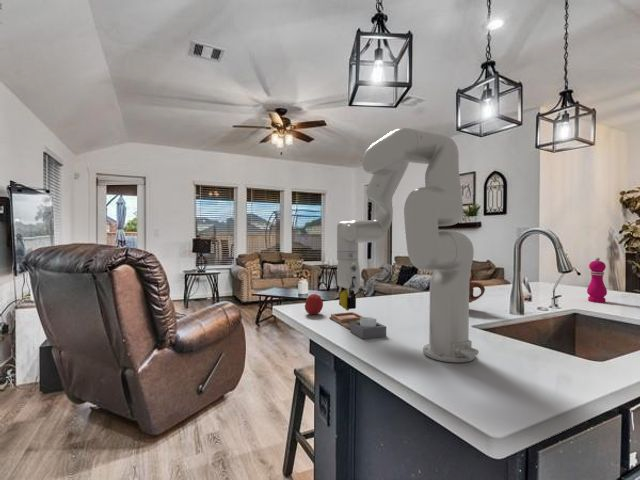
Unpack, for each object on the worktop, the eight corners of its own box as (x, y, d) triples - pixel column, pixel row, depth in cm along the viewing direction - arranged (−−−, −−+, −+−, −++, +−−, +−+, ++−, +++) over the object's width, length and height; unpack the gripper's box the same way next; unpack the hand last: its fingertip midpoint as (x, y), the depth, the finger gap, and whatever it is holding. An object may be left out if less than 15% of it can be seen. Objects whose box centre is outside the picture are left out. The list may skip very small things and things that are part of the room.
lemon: (354, 312, 127) (354, 289, 127) (338, 311, 128) (338, 289, 128) (355, 309, 132) (356, 287, 132) (340, 308, 133) (340, 286, 133)
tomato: (325, 292, 139) (306, 287, 141) (318, 307, 133) (298, 302, 135) (325, 305, 144) (307, 300, 146) (319, 321, 138) (300, 315, 141)
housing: (386, 336, 110) (386, 326, 110) (362, 339, 107) (362, 329, 107) (372, 329, 117) (372, 320, 117) (350, 332, 114) (350, 322, 114)
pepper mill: (582, 300, 167) (583, 256, 167) (594, 299, 170) (595, 256, 169) (599, 303, 160) (599, 258, 160) (610, 302, 163) (611, 257, 162)
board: (380, 328, 119) (380, 323, 119) (353, 331, 115) (353, 326, 115) (354, 316, 136) (354, 311, 136) (329, 318, 132) (329, 314, 132)
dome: (379, 333, 111) (379, 320, 111) (364, 335, 109) (364, 321, 109) (371, 329, 116) (371, 316, 115) (357, 331, 114) (357, 318, 114)
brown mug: (488, 310, 147) (489, 275, 147) (481, 315, 137) (481, 278, 137) (439, 304, 159) (439, 272, 159) (429, 308, 149) (429, 274, 149)
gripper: (368, 257, 123) (368, 311, 124) (346, 254, 139) (346, 301, 139) (348, 258, 120) (348, 312, 121) (328, 254, 136) (328, 303, 137)
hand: (347, 306), depth 130 cm, fingers closed on lemon, 5 cm apart
